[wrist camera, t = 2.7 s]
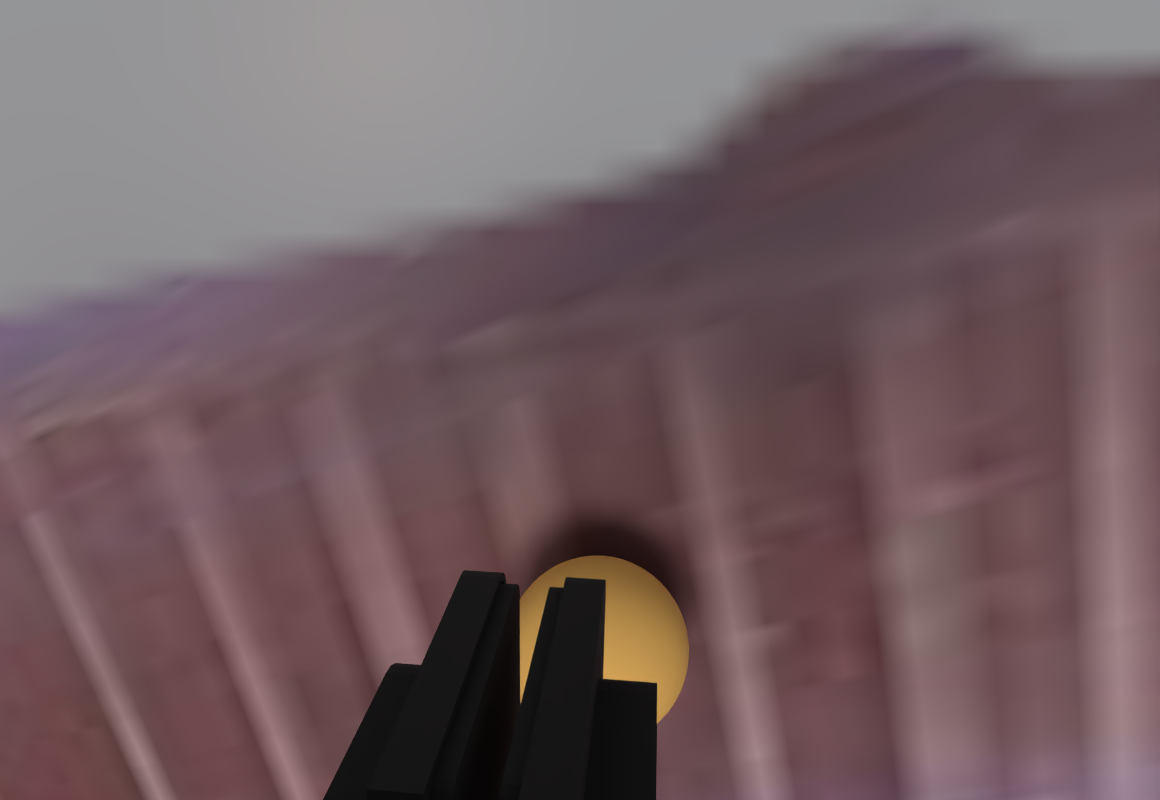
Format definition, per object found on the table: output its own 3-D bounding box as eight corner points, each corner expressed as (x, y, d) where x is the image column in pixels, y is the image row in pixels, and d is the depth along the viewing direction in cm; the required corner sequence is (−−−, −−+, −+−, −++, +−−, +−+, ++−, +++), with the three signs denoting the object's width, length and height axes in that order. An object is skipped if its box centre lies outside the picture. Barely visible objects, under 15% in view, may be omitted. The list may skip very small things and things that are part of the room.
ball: (691, 529, 29) (698, 628, 24) (681, 674, 31) (685, 798, 26) (520, 519, 30) (487, 613, 24) (521, 662, 32) (490, 781, 26)
